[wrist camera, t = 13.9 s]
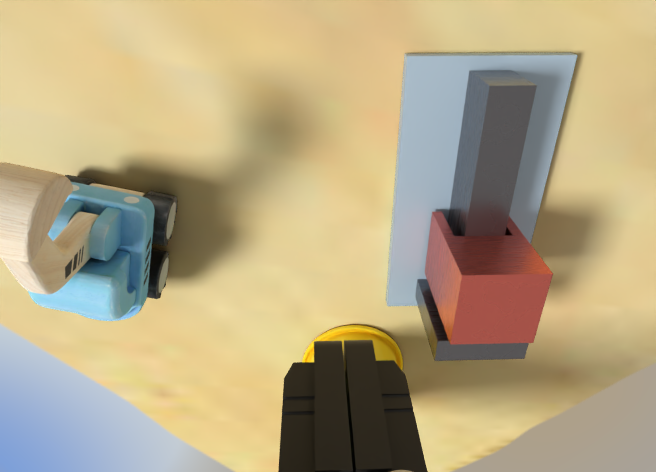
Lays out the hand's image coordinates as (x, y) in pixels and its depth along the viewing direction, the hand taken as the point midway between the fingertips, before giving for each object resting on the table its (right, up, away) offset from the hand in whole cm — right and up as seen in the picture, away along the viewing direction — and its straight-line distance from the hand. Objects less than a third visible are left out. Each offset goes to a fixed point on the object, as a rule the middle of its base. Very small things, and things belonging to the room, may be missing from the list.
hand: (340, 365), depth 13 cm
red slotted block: (+11, +3, +28) cm, 31 cm away
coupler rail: (+11, +7, +28) cm, 31 cm away
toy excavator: (-17, +7, +27) cm, 33 cm away
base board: (+11, +7, +28) cm, 31 cm away
